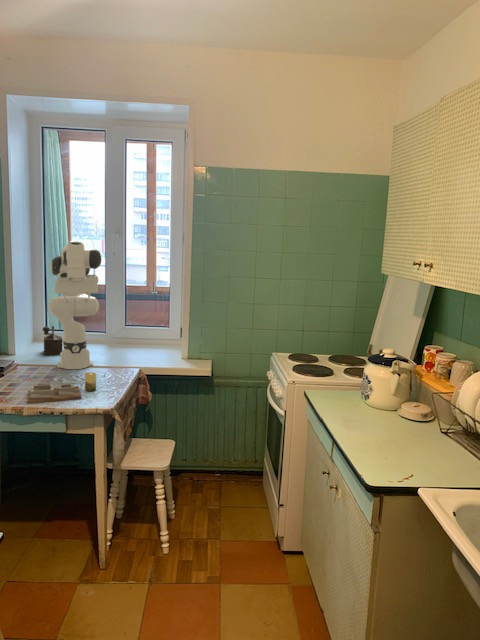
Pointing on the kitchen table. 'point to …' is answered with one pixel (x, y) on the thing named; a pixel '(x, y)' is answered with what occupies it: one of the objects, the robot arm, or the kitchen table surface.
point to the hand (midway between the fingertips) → (76, 302)
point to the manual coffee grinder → (52, 342)
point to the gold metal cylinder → (90, 382)
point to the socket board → (53, 393)
